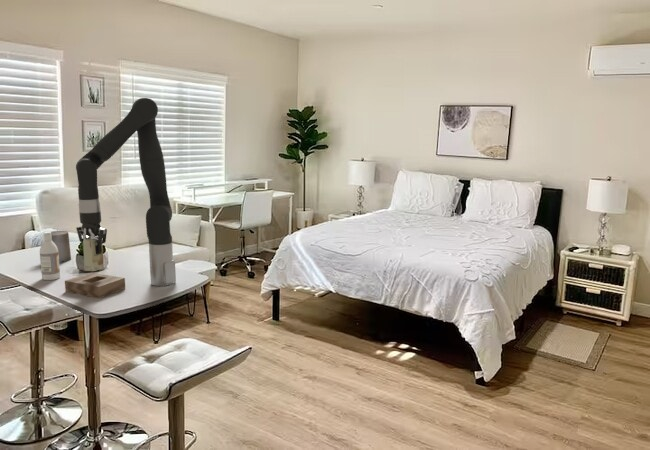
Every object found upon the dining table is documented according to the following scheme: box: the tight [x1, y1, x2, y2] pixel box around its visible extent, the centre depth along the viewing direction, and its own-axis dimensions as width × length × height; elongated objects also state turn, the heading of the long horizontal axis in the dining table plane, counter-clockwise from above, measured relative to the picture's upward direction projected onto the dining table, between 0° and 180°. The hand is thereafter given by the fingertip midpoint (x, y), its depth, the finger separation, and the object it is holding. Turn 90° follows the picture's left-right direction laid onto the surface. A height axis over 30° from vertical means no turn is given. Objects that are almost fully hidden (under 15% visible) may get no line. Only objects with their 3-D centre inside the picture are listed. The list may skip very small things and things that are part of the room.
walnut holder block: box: [64, 272, 126, 299], centre depth 202 cm, size 18×13×4 cm
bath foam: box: [39, 231, 61, 281], centre depth 216 cm, size 7×7×20 cm
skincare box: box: [82, 238, 105, 272], centre depth 200 cm, size 6×4×12 cm
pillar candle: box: [50, 230, 72, 263], centre depth 246 cm, size 10×10×15 cm
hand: (93, 253), depth 200 cm, fingers closed on skincare box, 4 cm apart
